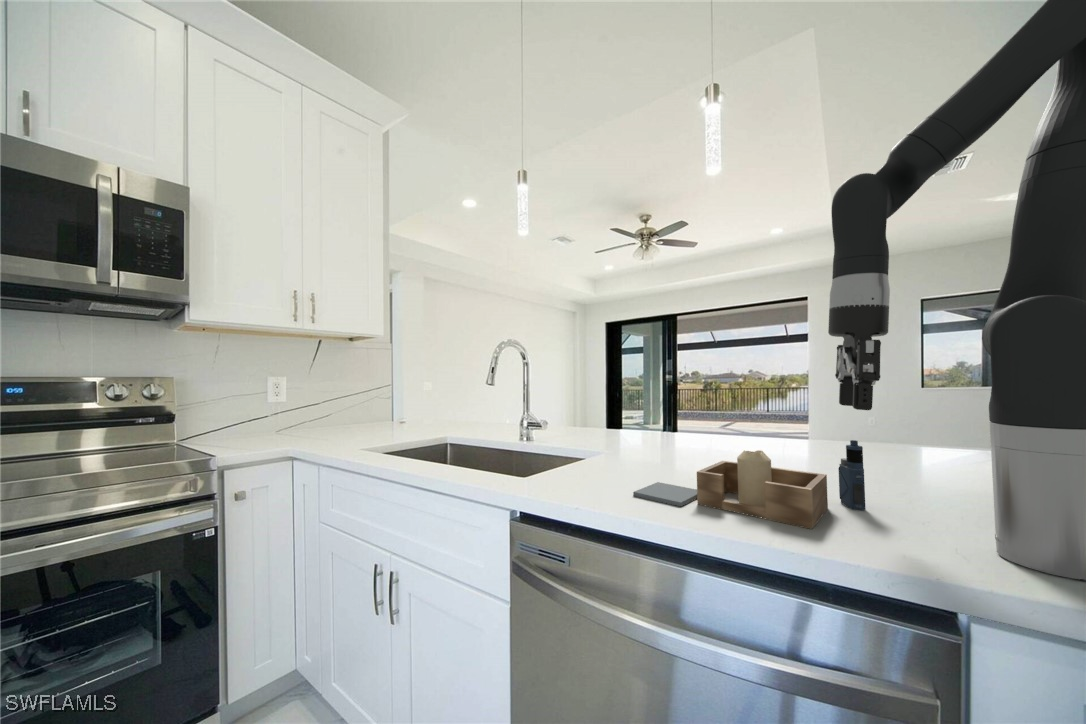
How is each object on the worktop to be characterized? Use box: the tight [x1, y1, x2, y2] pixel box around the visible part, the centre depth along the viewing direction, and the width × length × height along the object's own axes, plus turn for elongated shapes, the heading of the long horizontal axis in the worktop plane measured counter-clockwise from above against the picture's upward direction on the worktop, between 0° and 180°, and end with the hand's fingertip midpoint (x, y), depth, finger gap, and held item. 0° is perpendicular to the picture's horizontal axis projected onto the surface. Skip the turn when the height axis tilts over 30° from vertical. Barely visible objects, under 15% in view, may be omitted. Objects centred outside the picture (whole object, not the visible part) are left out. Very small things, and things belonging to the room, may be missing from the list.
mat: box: [632, 481, 697, 507], centre depth 80 cm, size 10×10×1 cm
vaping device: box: [838, 439, 867, 511], centre depth 72 cm, size 3×5×12 cm, turn 166°
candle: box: [736, 449, 772, 508], centre depth 73 cm, size 6×6×10 cm
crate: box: [696, 460, 829, 530], centre depth 73 cm, size 18×13×6 cm
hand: (854, 407), depth 64 cm, fingers open, 8 cm apart
